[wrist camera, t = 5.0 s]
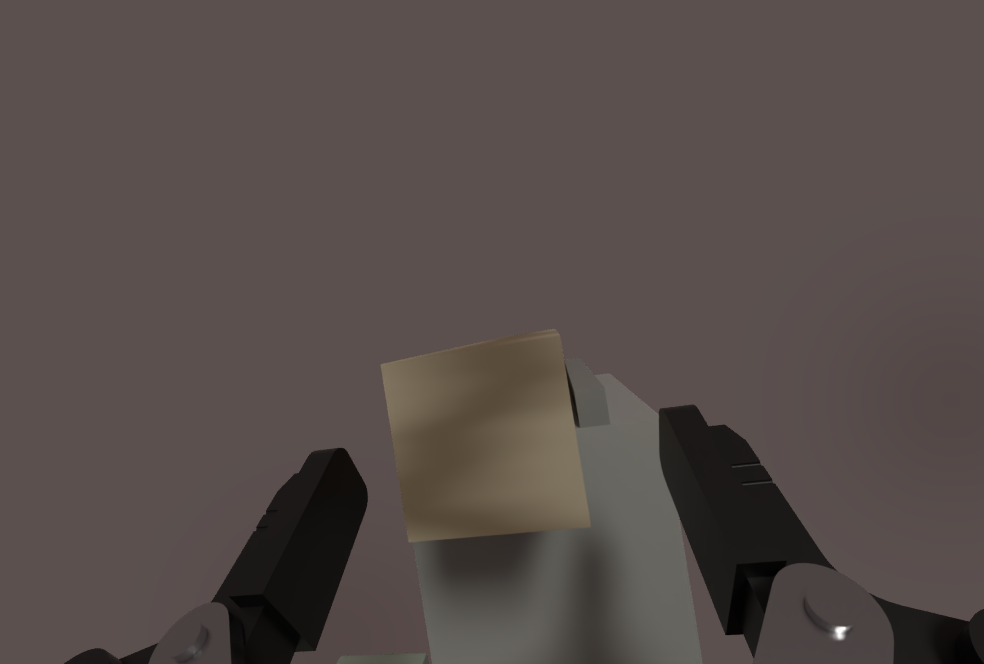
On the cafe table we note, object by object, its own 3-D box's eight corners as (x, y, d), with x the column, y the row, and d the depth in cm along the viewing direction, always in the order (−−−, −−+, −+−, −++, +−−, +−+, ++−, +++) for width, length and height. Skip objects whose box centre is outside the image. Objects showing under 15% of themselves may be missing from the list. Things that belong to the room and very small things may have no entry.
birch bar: (563, 379, 31) (555, 328, 31) (591, 527, 8) (560, 336, 8) (512, 386, 32) (504, 336, 32) (408, 542, 9) (380, 364, 9)
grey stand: (677, 792, 30) (606, 353, 30) (798, 1243, 15) (656, 380, 16) (533, 790, 32) (466, 374, 32) (516, 1195, 17) (393, 415, 17)
